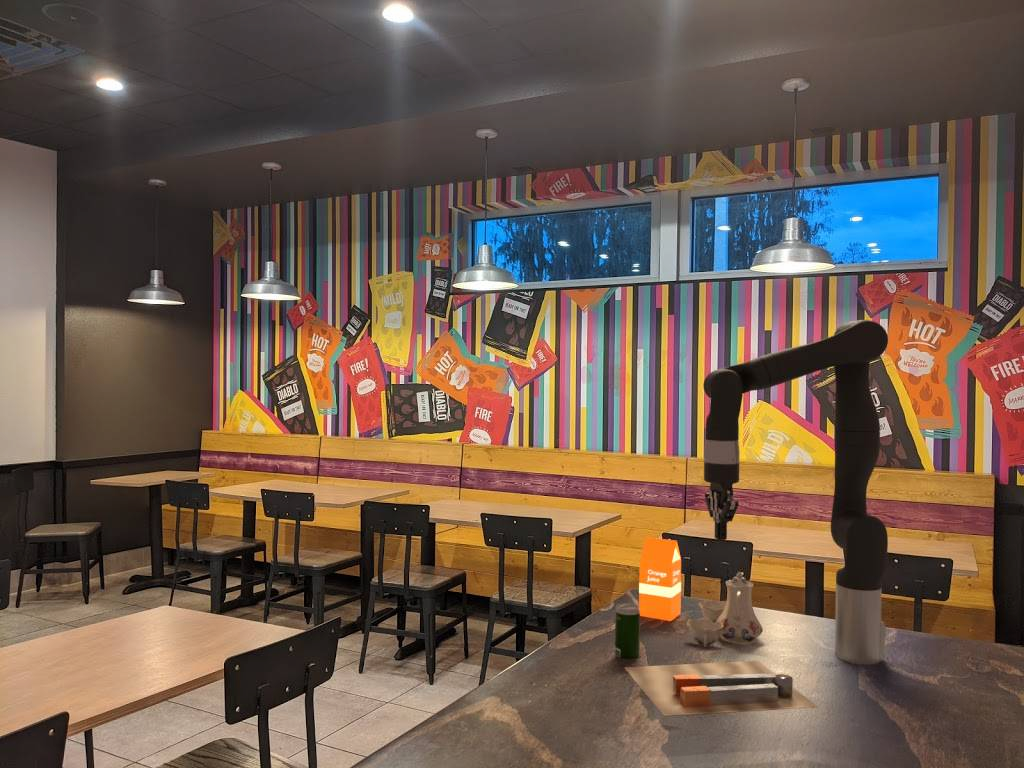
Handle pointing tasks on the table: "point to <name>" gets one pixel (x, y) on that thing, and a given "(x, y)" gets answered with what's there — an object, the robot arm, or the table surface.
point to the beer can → (627, 631)
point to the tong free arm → (734, 681)
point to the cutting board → (661, 677)
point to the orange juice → (660, 579)
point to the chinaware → (728, 617)
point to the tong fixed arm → (728, 695)
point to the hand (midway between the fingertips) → (720, 539)
